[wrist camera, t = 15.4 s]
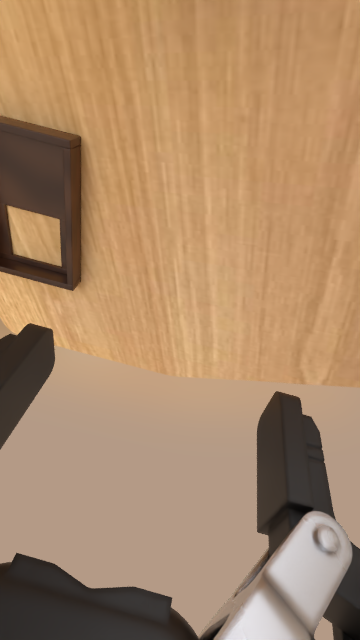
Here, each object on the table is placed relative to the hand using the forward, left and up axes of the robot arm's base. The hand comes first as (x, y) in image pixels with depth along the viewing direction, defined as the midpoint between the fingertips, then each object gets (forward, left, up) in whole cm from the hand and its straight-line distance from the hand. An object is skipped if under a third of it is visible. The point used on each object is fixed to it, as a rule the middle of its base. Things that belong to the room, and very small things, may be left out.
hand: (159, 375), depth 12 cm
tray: (+9, -21, -28) cm, 36 cm away
